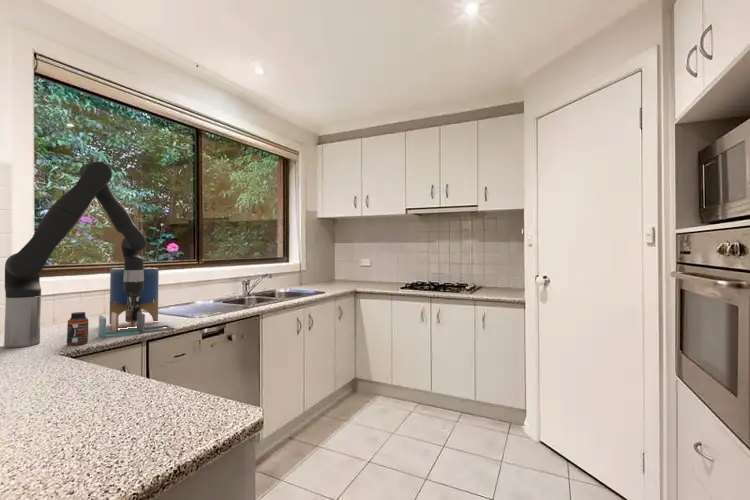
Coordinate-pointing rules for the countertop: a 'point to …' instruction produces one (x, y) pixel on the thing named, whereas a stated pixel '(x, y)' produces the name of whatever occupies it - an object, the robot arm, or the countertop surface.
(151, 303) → the planter
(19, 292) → the robot arm
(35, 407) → the countertop surface
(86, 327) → the supplement bottle
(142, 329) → the gray bookend
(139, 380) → the countertop surface
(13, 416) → the countertop surface
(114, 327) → the pale pink holder
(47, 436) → the countertop surface
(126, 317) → the letter cube
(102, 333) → the tray teal
